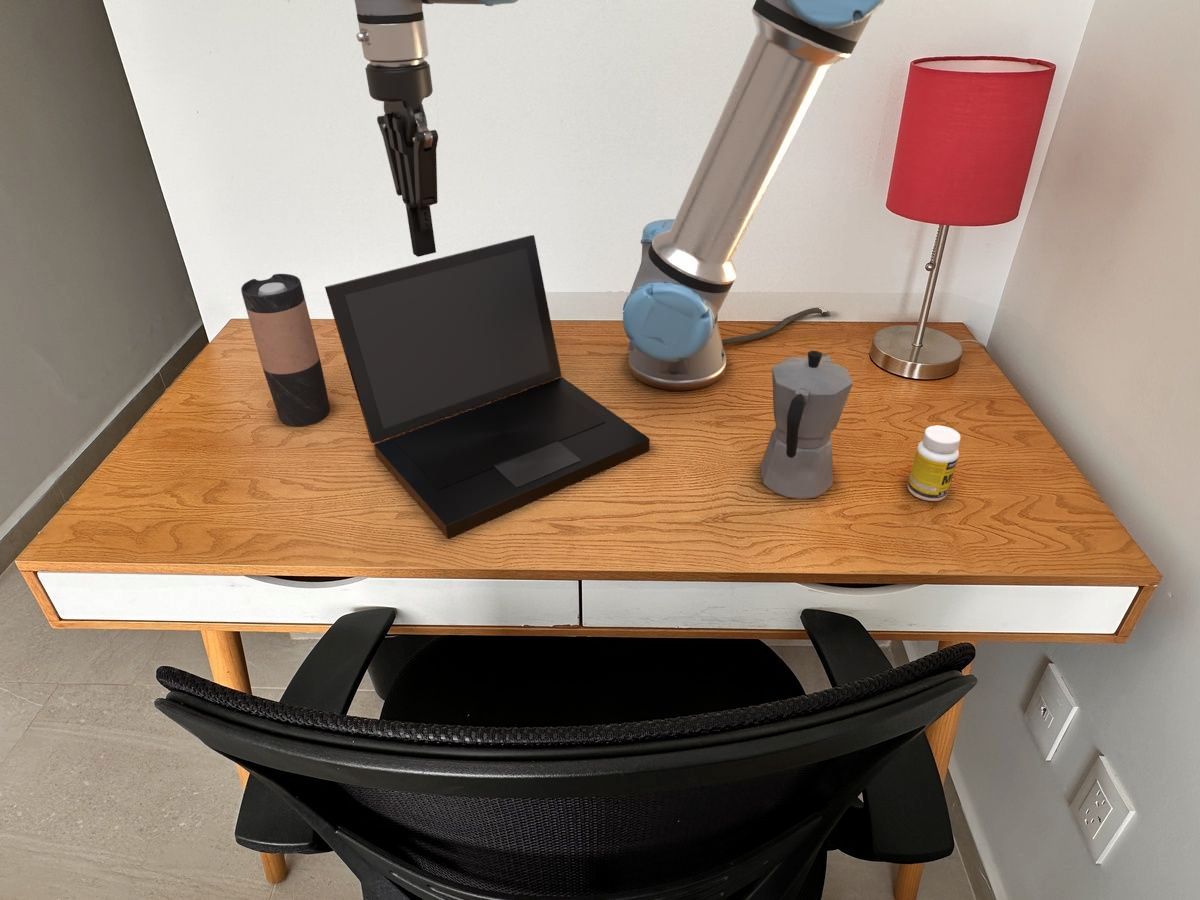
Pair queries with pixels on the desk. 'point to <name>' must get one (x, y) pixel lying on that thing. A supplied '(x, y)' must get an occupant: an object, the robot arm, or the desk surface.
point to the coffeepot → (804, 425)
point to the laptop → (508, 454)
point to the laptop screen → (445, 335)
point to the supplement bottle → (934, 463)
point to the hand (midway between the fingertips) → (424, 252)
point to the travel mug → (287, 348)
